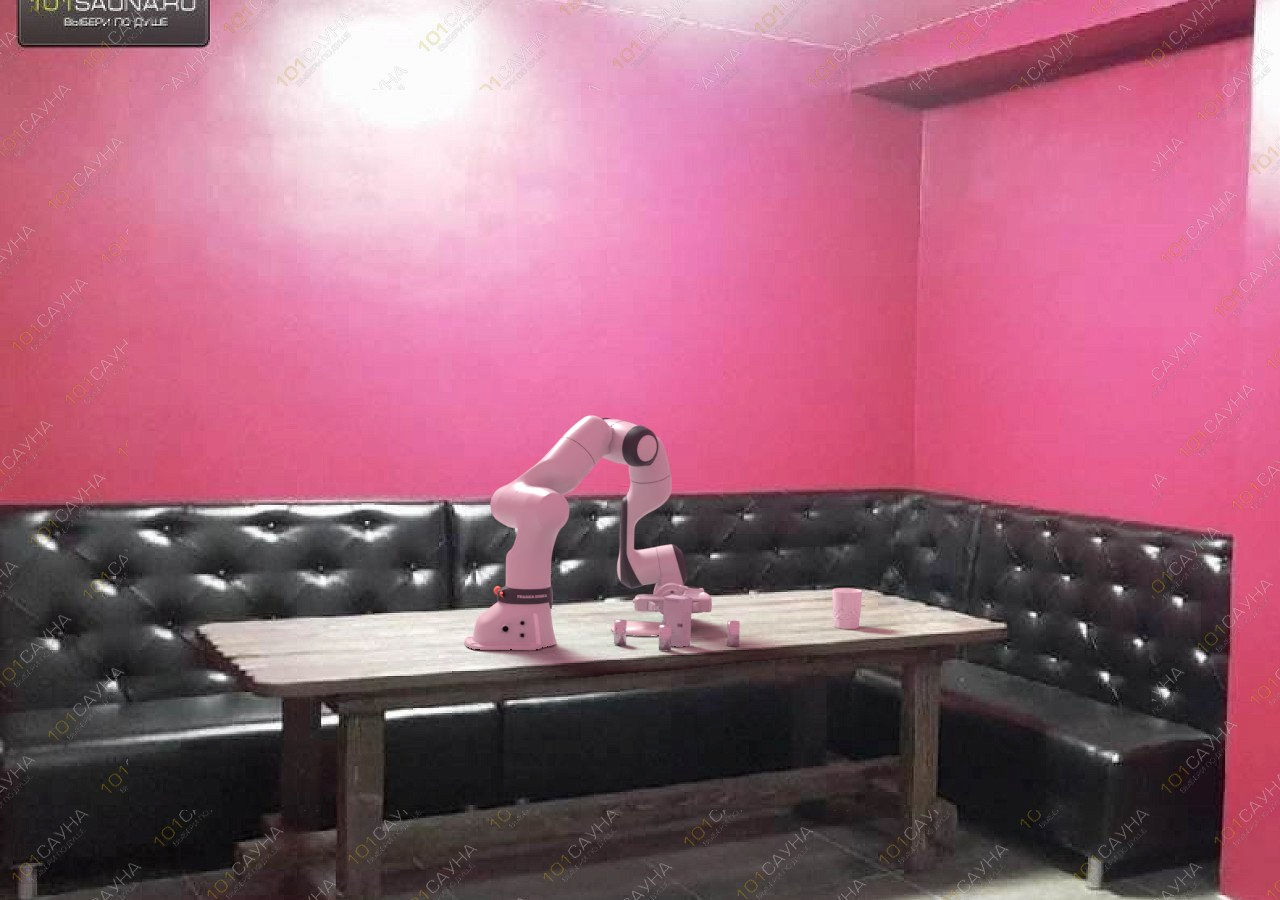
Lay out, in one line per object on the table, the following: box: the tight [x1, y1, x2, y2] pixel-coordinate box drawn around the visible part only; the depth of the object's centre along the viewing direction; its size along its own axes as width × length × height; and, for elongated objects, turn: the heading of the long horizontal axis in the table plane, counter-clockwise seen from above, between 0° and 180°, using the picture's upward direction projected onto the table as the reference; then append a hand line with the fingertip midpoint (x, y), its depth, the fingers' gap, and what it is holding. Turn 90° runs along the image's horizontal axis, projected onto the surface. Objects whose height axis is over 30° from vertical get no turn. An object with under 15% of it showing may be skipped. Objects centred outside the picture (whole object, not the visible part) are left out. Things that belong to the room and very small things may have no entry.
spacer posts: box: [613, 619, 741, 651], centre depth 338 cm, size 30×11×6 cm, turn 104°
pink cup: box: [831, 587, 863, 630], centre depth 368 cm, size 8×8×10 cm
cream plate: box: [610, 620, 663, 636], centre depth 357 cm, size 16×16×1 cm
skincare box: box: [662, 595, 693, 648], centre depth 339 cm, size 6×4×12 cm
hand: (674, 608), depth 351 cm, fingers open, 8 cm apart
